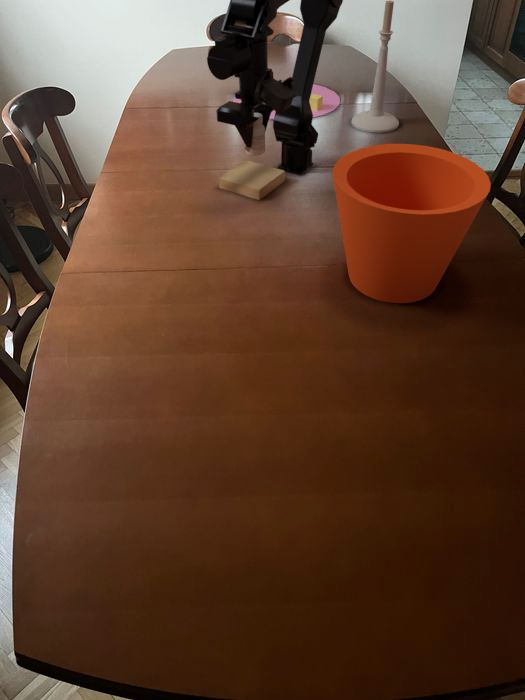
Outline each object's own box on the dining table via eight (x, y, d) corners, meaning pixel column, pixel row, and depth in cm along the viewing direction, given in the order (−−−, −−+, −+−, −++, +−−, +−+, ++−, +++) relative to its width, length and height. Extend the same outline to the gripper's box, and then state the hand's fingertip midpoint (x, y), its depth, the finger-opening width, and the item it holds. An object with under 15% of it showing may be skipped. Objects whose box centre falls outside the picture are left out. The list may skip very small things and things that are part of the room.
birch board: (218, 188, 135) (218, 177, 133) (245, 169, 142) (245, 159, 140) (259, 200, 130) (259, 189, 129) (284, 180, 137) (285, 170, 136)
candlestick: (403, 118, 165) (422, -4, 144) (391, 135, 156) (409, 7, 136) (359, 112, 169) (372, -9, 148) (345, 128, 160) (356, 2, 140)
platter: (307, 128, 160) (307, 116, 157) (211, 106, 173) (211, 94, 170) (358, 93, 180) (359, 81, 177) (269, 75, 192) (269, 64, 190)
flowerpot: (321, 239, 118) (328, 143, 105) (447, 241, 117) (470, 144, 104) (328, 318, 100) (337, 213, 86) (477, 320, 99) (510, 215, 86)
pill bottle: (243, 148, 128) (242, 112, 122) (264, 146, 128) (263, 111, 123) (245, 157, 124) (244, 120, 119) (266, 155, 125) (265, 119, 119)
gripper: (263, 86, 105) (264, 169, 116) (312, 57, 117) (309, 134, 127) (212, 76, 110) (217, 156, 120) (264, 49, 121) (265, 124, 132)
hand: (254, 143), depth 125 cm, fingers closed on pill bottle, 4 cm apart
